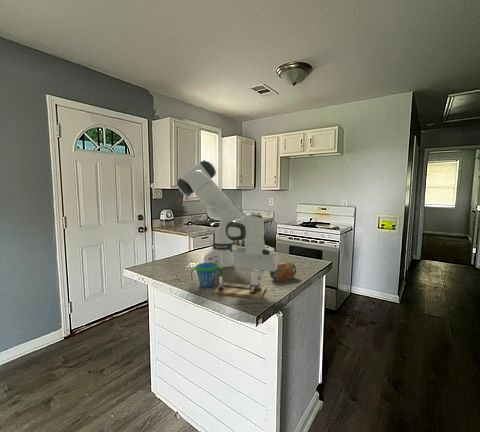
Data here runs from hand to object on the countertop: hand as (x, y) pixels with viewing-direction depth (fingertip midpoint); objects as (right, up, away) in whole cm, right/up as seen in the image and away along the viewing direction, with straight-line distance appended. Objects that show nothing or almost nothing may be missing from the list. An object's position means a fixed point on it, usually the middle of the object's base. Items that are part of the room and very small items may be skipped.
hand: (254, 279), depth 122 cm
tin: (+16, -5, +19) cm, 25 cm away
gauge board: (-7, -6, +2) cm, 9 cm away
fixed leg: (-15, -5, +1) cm, 16 cm away
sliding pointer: (0, -5, -1) cm, 5 cm away
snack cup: (-23, -6, +10) cm, 26 cm away
